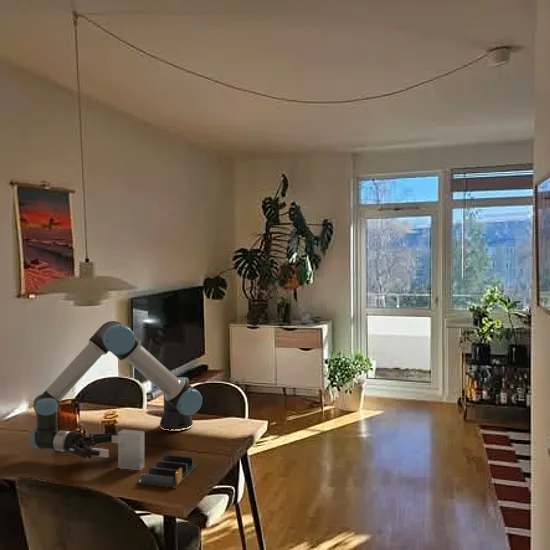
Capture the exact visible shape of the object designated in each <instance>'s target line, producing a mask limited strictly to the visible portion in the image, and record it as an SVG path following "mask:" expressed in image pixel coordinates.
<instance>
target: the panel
mask: <svg viewBox="0 0 550 550" xmlns="http://www.w3.org/2000/svg"><path fill="white" fill-rule="evenodd" d="M117 436H118V443H117V450H118V451H117V454H118V455H117V459H118V460H117V461H118V464H117V465H118V466H117V467H118V468H120V469H119V470H124V469H133V470H141V469H142V468H144V469H145V431H143V430H133V429H132V430H131V429H130V430H129V429H121V430H120V431H118V433H117ZM118 468H117V469H118ZM142 470H143V469H142ZM142 470H141V471H142Z"/></svg>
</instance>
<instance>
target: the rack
mask: <svg viewBox="0 0 550 550" xmlns="http://www.w3.org/2000/svg"><path fill="white" fill-rule="evenodd" d="M162 457H163V459H161V460H159V459H158V460H156V461H155V463H156V464H155V465H154V466H149V467H148V471H146V473H141V474H140V477H139V478H138V479H137V481H136V483H141V484H140V485H143V484H148V485H147V486H152V485H157V486H156V487H160V486H168V487H177V486H178V485H179V484H180V483H181V482H182V481H183V480H184V479H185V478H186V477H187V476H188V475H189V474H190V473H191V471H192V470H193V469H194V468H195V467H196V466H197V467H198V464H197V463H194V457H193V456H183V455H176V454H175V455H173V454H167V453H165V454H163V456H162ZM197 467H196V468H197ZM196 468H195V469H196ZM195 469H194V470H195ZM194 470H193V471H194ZM191 474H192V473H191ZM191 474H190V475H191ZM190 475H189V476H190ZM189 476H188V477H189ZM188 477H187V478H188ZM187 478H186V479H187ZM186 479H185V480H186ZM185 480H184V481H185ZM184 481H183V482H184ZM183 482H182V483H183ZM182 483H181V484H182ZM181 484H180V485H181ZM180 485H179V486H180ZM179 486H178V487H179ZM168 487H167V488H168Z"/></svg>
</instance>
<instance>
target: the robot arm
mask: <svg viewBox="0 0 550 550" xmlns="http://www.w3.org/2000/svg"><path fill="white" fill-rule="evenodd" d="M109 352H110V353H111V354H112V355H114V357H116V358H117V359H118V360H119V361H127V363H129V365H130V366H132V367H133V368H134V369H136V370H137V371H138V372H139V373H140V374H141V375H142V376H143V377H144V378H146V379H147V380H148V381H149V382H150V383H152V384H153V386H155V387H156V388H157V389H159V391H160V392H162V393H163V412H162V415H161V418H160V421H159V427H160V426H161V427H162V428H164V429H169V430H171V429H174V430H175V429H182V428H187V427H189V426H191V425H192V424H193V422H194V421H193V418H192V415H194V414H196V413H197V412H198V411H199V410H200V408H202V404H203V396H202V395H201V393H200V391H199V390H198V389H196V388H194V387H193V386H192V385H191V384H190V381H189V380H190V379H189V378H188V377H185V376H180V377H179V376H176V375H175V374H173V372H171V371H170V370H169V369H168V368H167V366H165V365H164V364H162V363H161V362H160V361H159V360H158V359H157V358H156V357H155V356H154V355H153V354H151V353H150V352H149V351H148V350H147V349H146V348H145V347H144V346H143V345H141V338H139V337H138V336H137V335H136V334H135V333H134V332H133V330H132V329H131V328H130V327H129V326H127V325H125V324H122V323H121V322H118V321H116V320H110V321H107V322H104V323H103V324H102V325H101V326H100V327H99V328H97V330H96V331H95V332H94V333H93V334H92V336H91V337H90V338H89V339H88V343H87V345H86V346H85V347H84V348H83V349H82V350H81V351H80V352H79V354H78V355H76V357H75V358H74V359H73V360H72V361H71V362H70V363H69V364H68V366H67V367H65V369H64V370H63V371H62V372H61V373H60V374H59V375H58V376H57V377H56V378H55V379H54V380H53V382H52V383H51V384H50V385H49V386H48V387H47V388H46V390H45V391H43V392H42V394H39V395H37V396H36V397H35V398H34V400H33V403H32V404H33V405H32V407H33V408H32V409H33V411H34V413H35V416H36V428H35V429H34V430H33V431H32V432H31V434H30V437H29V444H30V446H31V447H32V448H35V449H40V450H49V451H50V450H51V451H57V452H61V453H64V452H67V453H71V454H74V455H77V456H78V457H81V458H83V459H92V457H97V458H98V457H99V458H106V459H107V458H109V457H110V454H109V453H110V450H109V449H106V448H97V447H96V448H95V447H93V446H96V445H99V444H104V443H112V444H118V435H115V433H114V432H109V433H108V432H107V433H106V432H105V433H90V434H88V436H87V435H86V436H83V434H82V433H81V432H77V431H68V430H58V409H59V407H58V404H60V402H61V401H62V400H63V399H64V398H65V397H66V395H67V394H68V393H69V392H70V391H71V389H73V388H74V387H75V385H77V383H79V381H80V380H81V379H82V378H83V377H84V376H85V375H86V374H87V372H89V370H90V369H91V368H92V367H93V366H94V365H95V364H96V362H98V361H99V359H100V358H101V357H102V356H103V355H107V354H108V353H109ZM193 425H194V424H193ZM91 447H92V448H91Z"/></svg>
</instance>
